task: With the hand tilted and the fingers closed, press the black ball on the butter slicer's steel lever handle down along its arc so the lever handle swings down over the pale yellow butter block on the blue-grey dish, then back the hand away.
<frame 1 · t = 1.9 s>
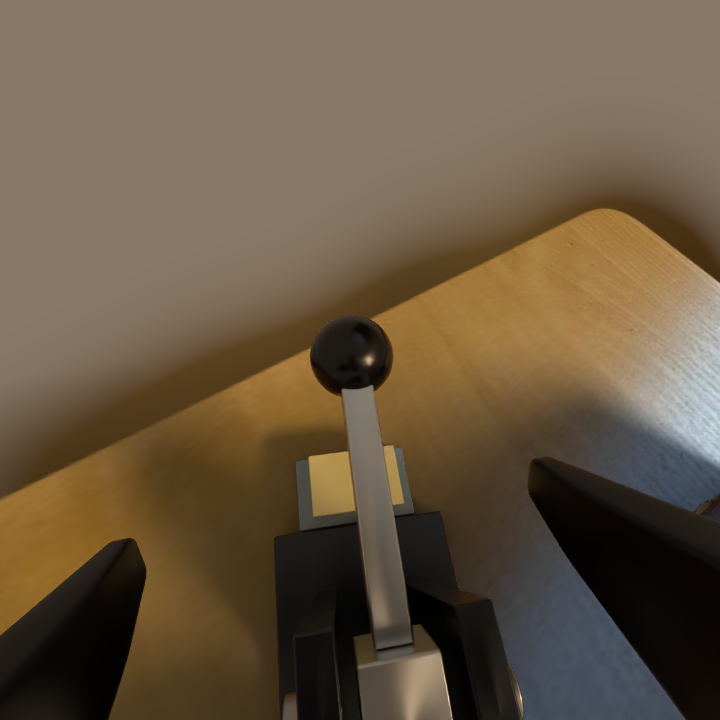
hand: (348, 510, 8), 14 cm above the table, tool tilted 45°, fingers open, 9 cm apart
flask: (709, 530, 22), on the table
butter dish: (353, 488, 22), on the table
slicer: (372, 632, 18), on the table
lever handle: (372, 501, 12), point 10 cm above the table, hinge at 5.0°
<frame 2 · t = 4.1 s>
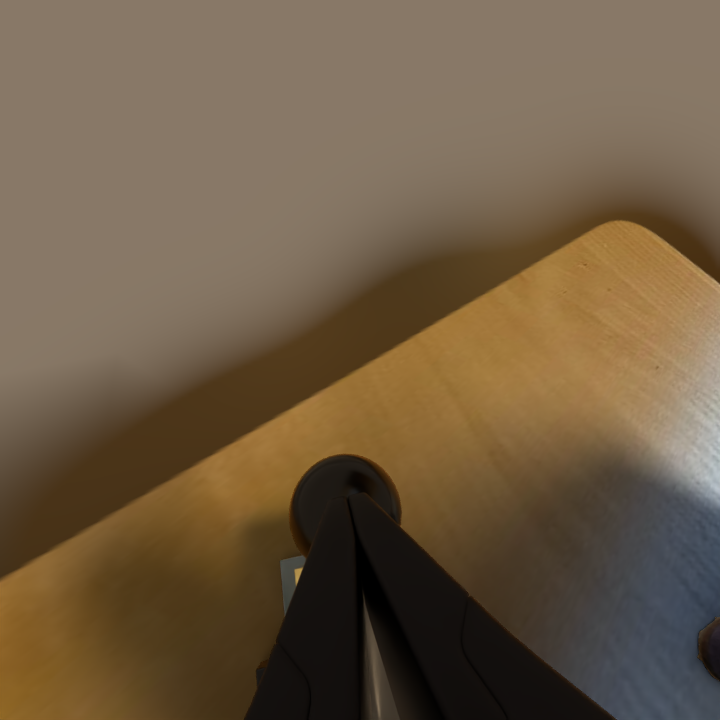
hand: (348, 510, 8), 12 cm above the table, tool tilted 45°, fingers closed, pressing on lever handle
butter dish: (350, 588, 18), on the table
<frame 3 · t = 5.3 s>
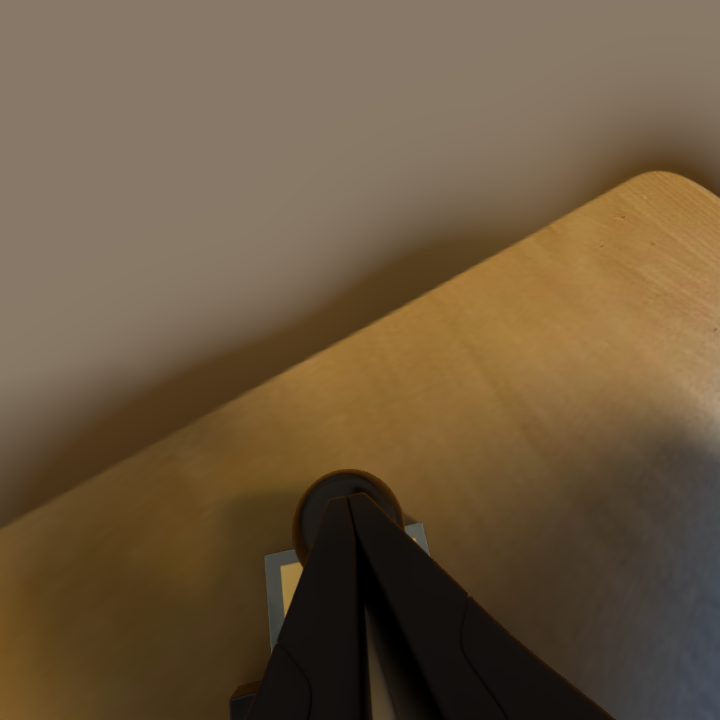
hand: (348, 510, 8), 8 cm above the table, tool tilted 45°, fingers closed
butter dish: (353, 591, 14), on the table
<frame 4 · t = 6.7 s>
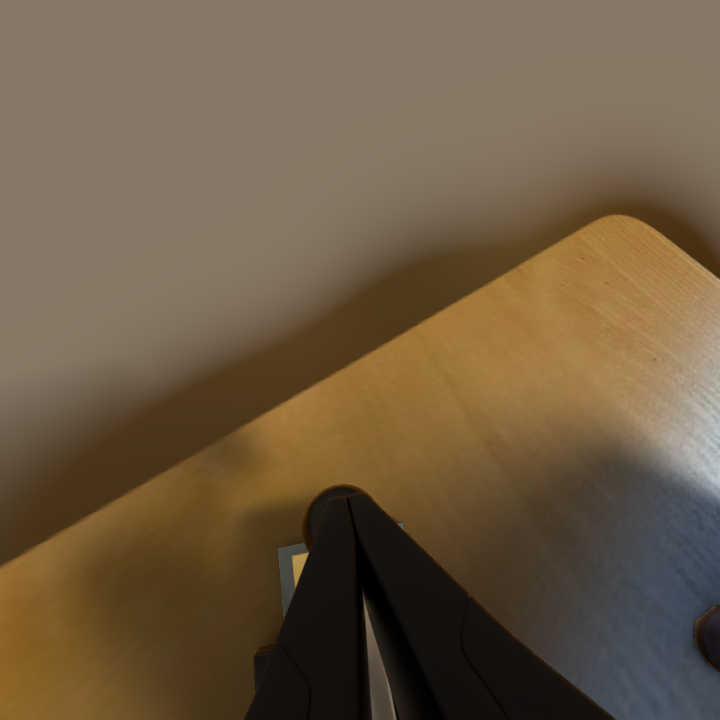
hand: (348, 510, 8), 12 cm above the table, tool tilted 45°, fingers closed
butter dish: (347, 576, 18), on the table
lever handle: (372, 703, 10), point 8 cm above the table, hinge at -23.6°
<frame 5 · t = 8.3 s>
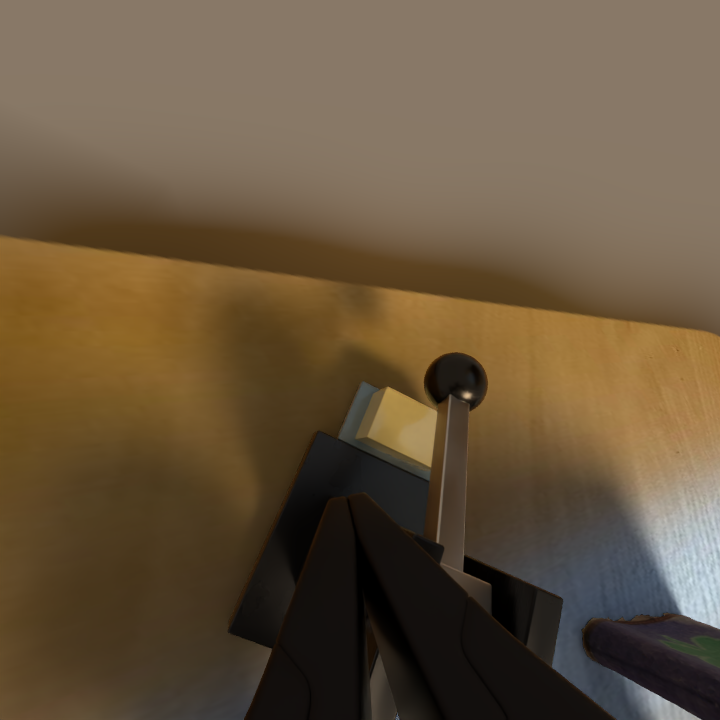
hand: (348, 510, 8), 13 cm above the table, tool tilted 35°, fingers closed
flask: (634, 636, 24), on the table
butter dish: (393, 432, 23), on the table
slicer: (349, 549, 20), on the table
lever handle: (448, 475, 15), point 8 cm above the table, hinge at -23.6°
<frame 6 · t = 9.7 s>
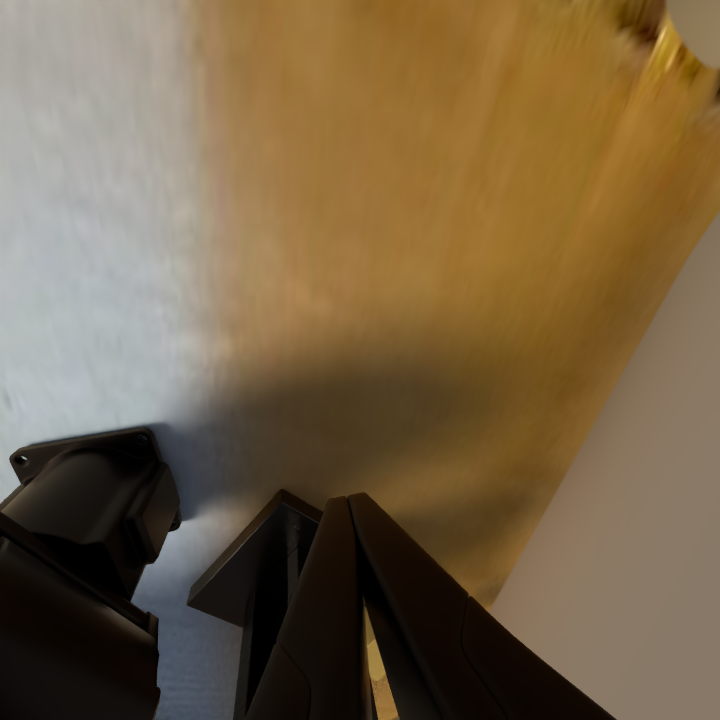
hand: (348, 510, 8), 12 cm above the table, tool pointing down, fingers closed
butter dish: (375, 608, 27), on the table
slicer: (299, 571, 24), on the table
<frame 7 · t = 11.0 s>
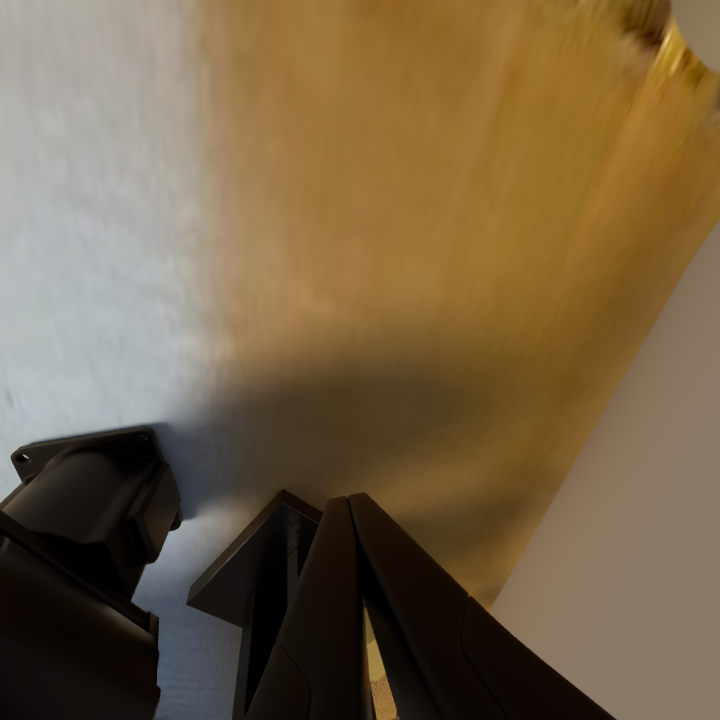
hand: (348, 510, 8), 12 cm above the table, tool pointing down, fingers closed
butter dish: (374, 609, 27), on the table
slicer: (298, 571, 24), on the table
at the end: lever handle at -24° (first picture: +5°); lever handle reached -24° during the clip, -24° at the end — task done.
